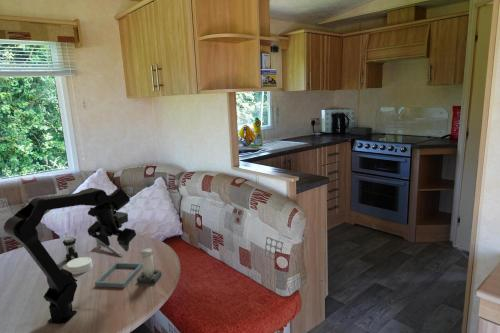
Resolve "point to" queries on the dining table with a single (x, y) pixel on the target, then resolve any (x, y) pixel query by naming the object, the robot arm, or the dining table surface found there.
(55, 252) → the dining table surface
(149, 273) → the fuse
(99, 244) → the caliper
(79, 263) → the white round disc
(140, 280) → the grey piece
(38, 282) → the dining table surface
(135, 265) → the parts tray
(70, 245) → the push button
